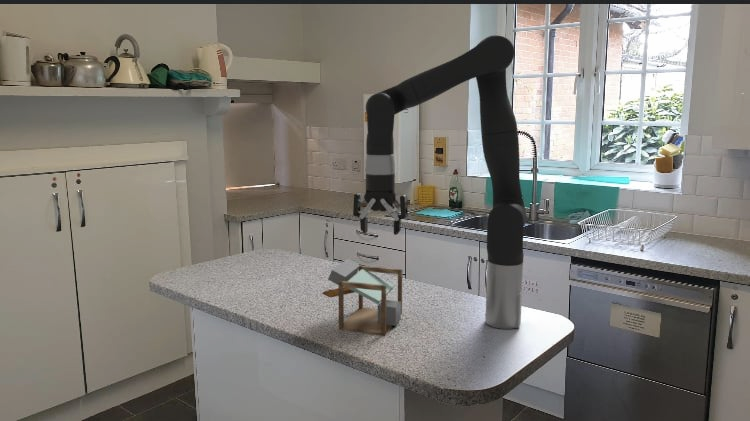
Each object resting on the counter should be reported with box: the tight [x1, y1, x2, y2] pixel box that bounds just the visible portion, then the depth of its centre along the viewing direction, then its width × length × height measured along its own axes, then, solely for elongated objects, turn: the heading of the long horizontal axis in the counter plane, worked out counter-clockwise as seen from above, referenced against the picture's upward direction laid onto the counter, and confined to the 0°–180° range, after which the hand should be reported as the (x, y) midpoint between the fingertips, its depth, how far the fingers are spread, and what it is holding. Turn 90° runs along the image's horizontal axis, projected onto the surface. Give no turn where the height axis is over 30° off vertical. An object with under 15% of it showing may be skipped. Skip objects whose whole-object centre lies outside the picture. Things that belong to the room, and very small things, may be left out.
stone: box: [377, 299, 402, 327], centre depth 156 cm, size 5×5×5 cm
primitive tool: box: [322, 287, 355, 298], centre depth 184 cm, size 19×6×4 cm, turn 122°
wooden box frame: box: [337, 265, 403, 336], centre depth 156 cm, size 13×17×13 cm
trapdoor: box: [327, 258, 395, 305], centre depth 156 cm, size 15×14×3 cm
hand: (380, 233), depth 152 cm, fingers open, 8 cm apart
